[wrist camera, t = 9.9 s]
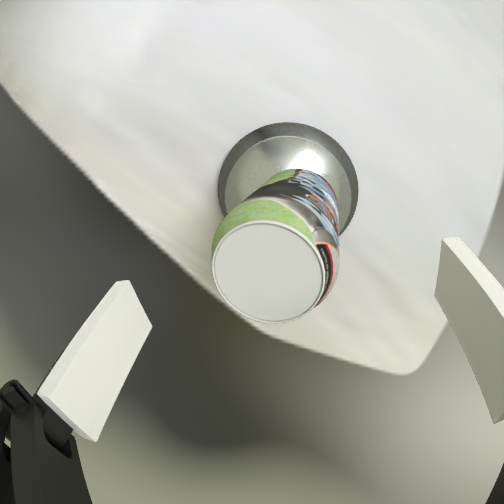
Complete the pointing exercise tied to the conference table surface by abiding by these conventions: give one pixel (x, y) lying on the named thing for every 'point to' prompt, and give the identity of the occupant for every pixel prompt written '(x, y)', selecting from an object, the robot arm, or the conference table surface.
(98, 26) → the conference table surface
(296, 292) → the beverage can
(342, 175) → the bowl
